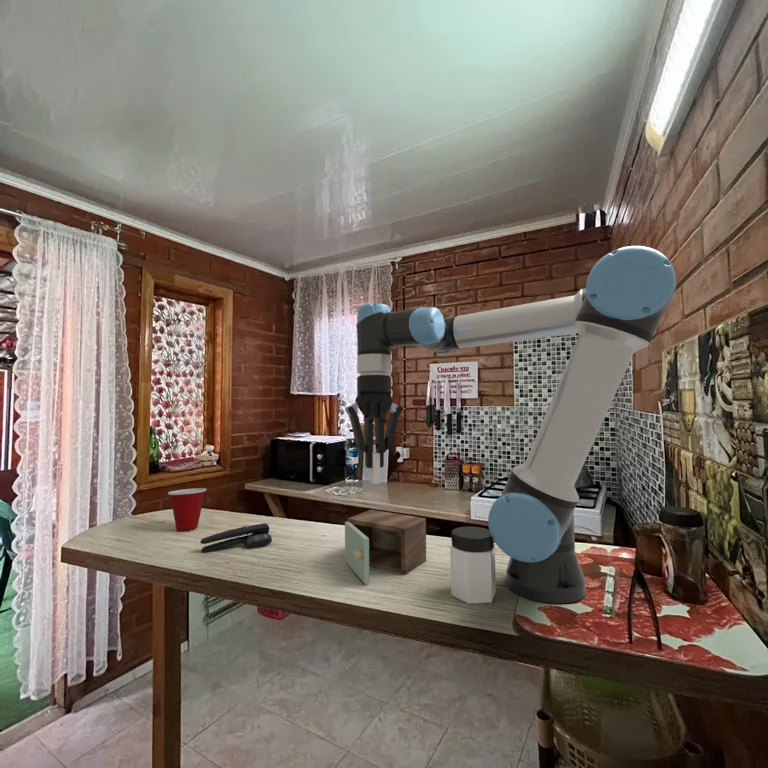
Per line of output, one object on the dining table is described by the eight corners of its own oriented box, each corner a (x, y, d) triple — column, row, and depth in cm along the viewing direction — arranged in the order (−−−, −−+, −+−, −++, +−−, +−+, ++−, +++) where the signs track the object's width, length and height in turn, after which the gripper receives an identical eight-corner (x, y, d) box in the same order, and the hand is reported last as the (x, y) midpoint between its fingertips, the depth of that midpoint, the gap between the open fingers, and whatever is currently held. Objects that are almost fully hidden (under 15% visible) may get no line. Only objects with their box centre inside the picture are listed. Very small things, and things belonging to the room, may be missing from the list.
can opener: (268, 539, 117) (268, 519, 117) (273, 547, 111) (273, 525, 111) (199, 549, 110) (200, 527, 110) (200, 557, 103) (200, 534, 103)
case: (426, 560, 99) (425, 518, 100) (405, 575, 91) (404, 528, 91) (371, 548, 108) (370, 509, 109) (347, 560, 100) (347, 518, 100)
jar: (458, 582, 87) (457, 524, 88) (498, 588, 84) (497, 528, 84) (446, 600, 79) (445, 536, 80) (490, 608, 76) (489, 541, 76)
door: (338, 561, 98) (338, 522, 98) (349, 559, 99) (348, 521, 99) (357, 584, 85) (357, 540, 85) (369, 582, 86) (368, 538, 86)
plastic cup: (200, 522, 134) (200, 484, 135) (210, 529, 126) (211, 489, 127) (163, 528, 128) (163, 489, 128) (171, 536, 119) (172, 494, 120)
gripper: (394, 376, 98) (395, 478, 97) (340, 375, 93) (340, 482, 92) (408, 374, 91) (409, 483, 90) (351, 373, 86) (351, 488, 85)
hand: (374, 482), depth 91 cm, fingers closed
